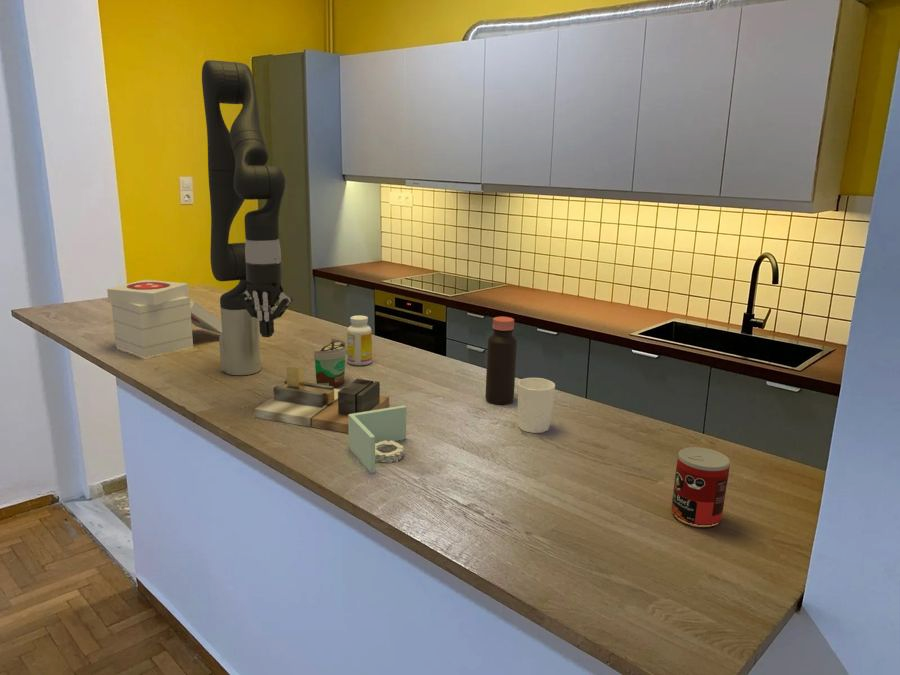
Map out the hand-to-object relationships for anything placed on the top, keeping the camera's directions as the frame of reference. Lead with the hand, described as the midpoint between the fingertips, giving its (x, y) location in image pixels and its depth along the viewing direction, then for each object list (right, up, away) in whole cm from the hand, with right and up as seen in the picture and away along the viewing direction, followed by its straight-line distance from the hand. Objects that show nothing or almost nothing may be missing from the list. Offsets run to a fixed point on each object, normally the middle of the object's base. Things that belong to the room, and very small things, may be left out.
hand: (267, 336), depth 154 cm
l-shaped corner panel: (+29, -24, -20) cm, 42 cm away
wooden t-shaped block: (+9, -14, +1) cm, 17 cm away
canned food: (+82, -30, -40) cm, 96 cm away
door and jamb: (+13, -17, 0) cm, 21 cm away
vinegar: (+53, -15, +10) cm, 56 cm away
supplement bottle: (+16, -7, +35) cm, 39 cm away
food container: (+12, -12, +18) cm, 25 cm away
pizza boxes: (-40, -2, +46) cm, 61 cm away
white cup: (+59, -20, -5) cm, 63 cm away
